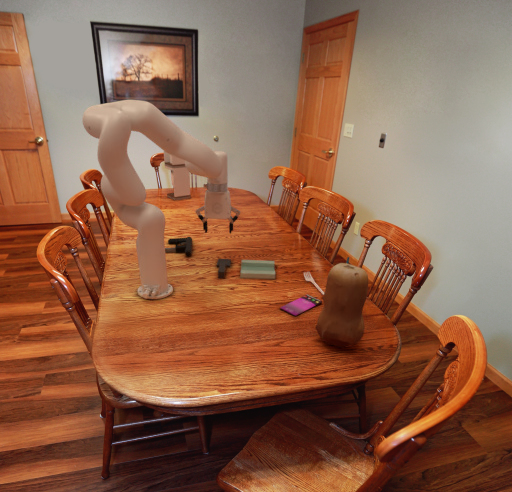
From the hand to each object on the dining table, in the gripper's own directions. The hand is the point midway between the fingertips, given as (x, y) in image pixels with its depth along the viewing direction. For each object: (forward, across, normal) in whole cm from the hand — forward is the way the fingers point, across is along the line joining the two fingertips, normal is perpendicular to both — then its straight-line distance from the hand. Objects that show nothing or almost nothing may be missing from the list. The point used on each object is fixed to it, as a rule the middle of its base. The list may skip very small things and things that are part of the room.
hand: (218, 232), depth 159 cm
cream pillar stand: (+16, -35, +114) cm, 121 cm away
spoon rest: (+15, +16, -2) cm, 22 cm away
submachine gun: (+16, -21, +20) cm, 33 cm away
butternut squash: (+15, +40, -55) cm, 70 cm away
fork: (+16, +39, -15) cm, 44 cm away
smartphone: (+15, +31, -32) cm, 47 cm away
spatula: (+15, +2, -2) cm, 16 cm away
